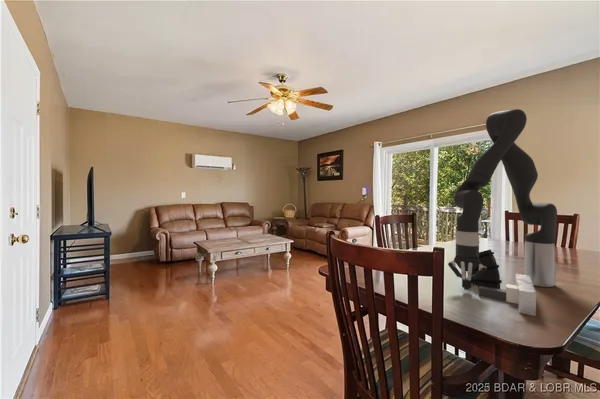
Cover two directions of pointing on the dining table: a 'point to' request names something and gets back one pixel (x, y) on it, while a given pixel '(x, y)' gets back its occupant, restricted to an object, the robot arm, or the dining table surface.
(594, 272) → the dining table surface
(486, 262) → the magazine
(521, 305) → the housing
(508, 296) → the plug
